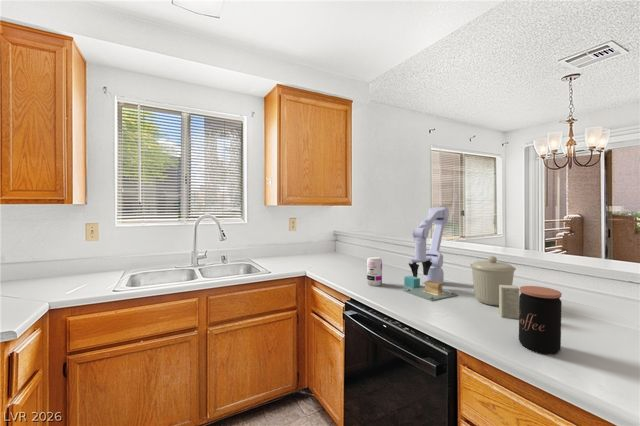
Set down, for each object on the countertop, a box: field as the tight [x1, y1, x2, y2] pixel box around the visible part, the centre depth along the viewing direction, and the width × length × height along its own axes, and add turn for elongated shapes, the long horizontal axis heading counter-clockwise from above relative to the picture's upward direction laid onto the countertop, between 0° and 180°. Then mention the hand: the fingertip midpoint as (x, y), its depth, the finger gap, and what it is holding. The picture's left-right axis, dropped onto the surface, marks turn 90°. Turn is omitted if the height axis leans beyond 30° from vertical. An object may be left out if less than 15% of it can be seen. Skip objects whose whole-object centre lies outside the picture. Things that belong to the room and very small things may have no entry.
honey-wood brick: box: [424, 280, 444, 294], centre depth 152 cm, size 4×7×5 cm, turn 42°
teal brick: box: [403, 275, 421, 289], centre depth 165 cm, size 4×7×5 cm, turn 28°
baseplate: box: [403, 285, 459, 302], centre depth 152 cm, size 18×18×1 cm
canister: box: [469, 255, 517, 307], centre depth 138 cm, size 18×18×21 cm
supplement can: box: [366, 256, 383, 287], centre depth 169 cm, size 8×8×15 cm
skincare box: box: [498, 284, 520, 320], centre depth 121 cm, size 6×4×12 cm
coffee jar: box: [518, 285, 563, 355], centre depth 95 cm, size 11×11×18 cm
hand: (420, 275), depth 160 cm, fingers open, 7 cm apart
